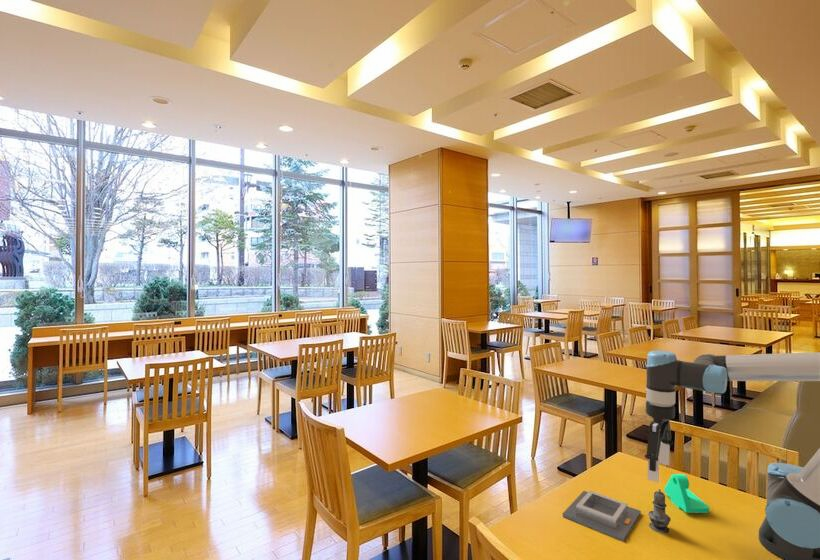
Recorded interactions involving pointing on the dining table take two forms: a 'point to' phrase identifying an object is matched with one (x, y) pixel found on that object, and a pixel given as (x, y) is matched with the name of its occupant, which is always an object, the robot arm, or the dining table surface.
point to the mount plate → (603, 514)
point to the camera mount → (684, 495)
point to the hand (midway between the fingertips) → (658, 472)
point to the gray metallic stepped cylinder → (659, 514)
